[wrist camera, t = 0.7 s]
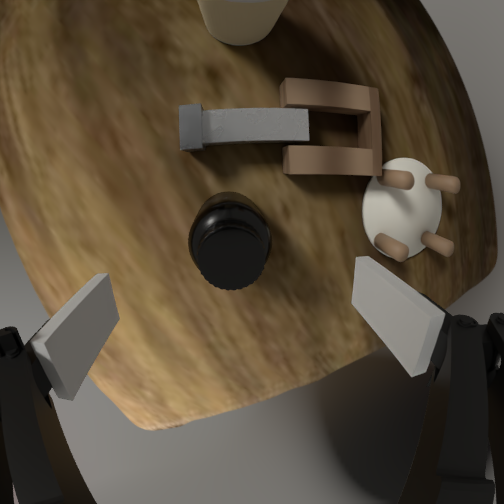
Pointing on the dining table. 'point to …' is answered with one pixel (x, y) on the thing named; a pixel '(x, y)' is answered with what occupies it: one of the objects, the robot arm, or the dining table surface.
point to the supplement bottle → (230, 241)
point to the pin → (240, 126)
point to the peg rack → (406, 209)
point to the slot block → (344, 102)
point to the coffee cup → (240, 19)
